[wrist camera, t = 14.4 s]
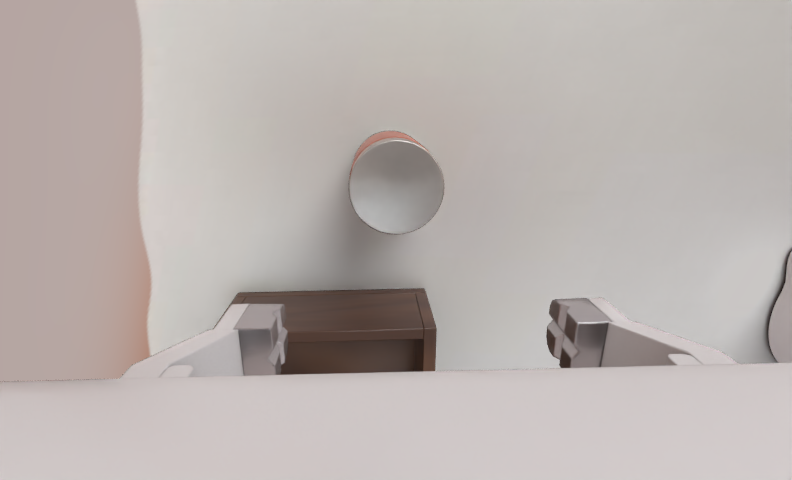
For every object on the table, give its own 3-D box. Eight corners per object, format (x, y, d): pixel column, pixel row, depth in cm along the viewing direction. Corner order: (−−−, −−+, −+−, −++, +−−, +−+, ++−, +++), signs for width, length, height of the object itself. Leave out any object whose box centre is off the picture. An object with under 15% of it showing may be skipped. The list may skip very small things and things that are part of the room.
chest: (238, 292, 36) (208, 334, 29) (424, 288, 37) (436, 328, 30) (257, 452, 41) (235, 518, 34) (420, 444, 42) (430, 508, 35)
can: (389, 113, 32) (396, 117, 24) (440, 166, 34) (465, 188, 25) (338, 167, 33) (327, 190, 25) (390, 217, 35) (396, 254, 26)
